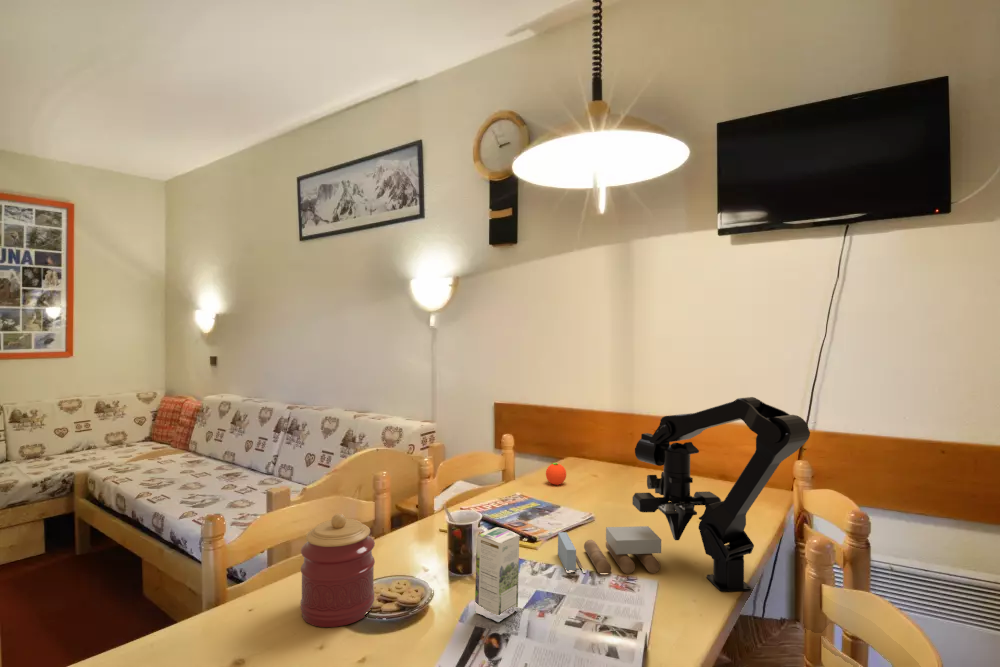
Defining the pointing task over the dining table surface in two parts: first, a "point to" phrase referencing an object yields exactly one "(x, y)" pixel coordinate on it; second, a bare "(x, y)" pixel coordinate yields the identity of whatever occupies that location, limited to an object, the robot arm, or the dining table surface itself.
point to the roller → (597, 557)
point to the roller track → (628, 564)
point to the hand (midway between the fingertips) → (676, 539)
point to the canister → (337, 573)
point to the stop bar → (566, 551)
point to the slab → (633, 540)
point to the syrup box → (497, 570)
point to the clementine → (556, 474)
